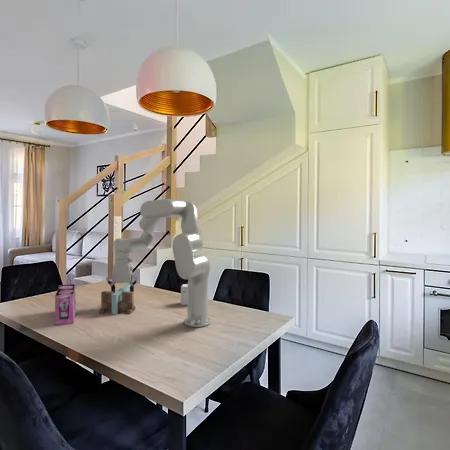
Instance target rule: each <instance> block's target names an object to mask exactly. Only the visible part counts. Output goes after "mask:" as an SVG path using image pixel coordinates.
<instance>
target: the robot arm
mask: <svg viewBox="0 0 450 450" xmlns="http://www.w3.org/2000/svg"><path fill="white" fill-rule="evenodd" d="M140 205H141V206H140V209H139V213H140V216H141V217H142V218H141V219H140V220H139V222H138V226H139V227H140V229H141V230H142V231H143V232H142V233H141V235H140V236H139V237H134V238H125V237H120V238H115V239H114V240H113V241H114V243H113V245H114V247H113V248H114V249H113V250H114V252H113V253H114V264H113V265H112V271H111V272H112V273H111V275H109V276H106V278H105V280H106V282H107V284H108V285H109V286H110V291H114V293H115V292H116V284H128V285H130V292H134V291H135V284H137V283H138V281H139V279H140V278H139V277H138V276H136V275H134V274H133V267H132V263H131V262H133V259H131V258H130V254H134V253H140V252H144V251H145V250H147V249H148V247H149V246H151V244H152V242H153V240H154V237H155V232H154V231H155V230H156V229H157V227H158V226H159V225H160V224H161V222H162V221H163V220H164V219H165V218H181V221H180V229H181V233H179V234H177V235H175V237H174V238H173V241H172V246H171V247H172V253H173V259H174V263H175V268H176V272H177V274H178V276H179V277H180V278H181V279H184V280H188V281H187V284H188V286H187V305H186V306H187V308H186V311H187V315H186V316H187V317H186V318H184V319H183V323H184V325H186V326H187V327H191V328H202V327H206V326H209V325H210V324H211V323H212V320H211V318H210V317H209V315H208V314H209V312H208V310H209V307H208V305H209V303H208V302H209V296H208V295H209V293H208V292H209V275H210V270H211V263H210V261H209V259H208V258H207V256H205V255H202V254H196V255H193V254H195V253H198V252H200V251H201V250H203V245H204V244H203V237H202V232H201V228H200V222H199V217H198V216H199V215H198V210H197V207H196V205H195V204H194V203H193V202H192V201H190V200H188V199H187V200H186V199H180V198H179V199H178V198H177V199H176V198H174V199H173V198H164V199H163V198H162V199H161V198H159V199H153V200H146V201H144V202H143V203H142V204H140Z"/></svg>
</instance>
